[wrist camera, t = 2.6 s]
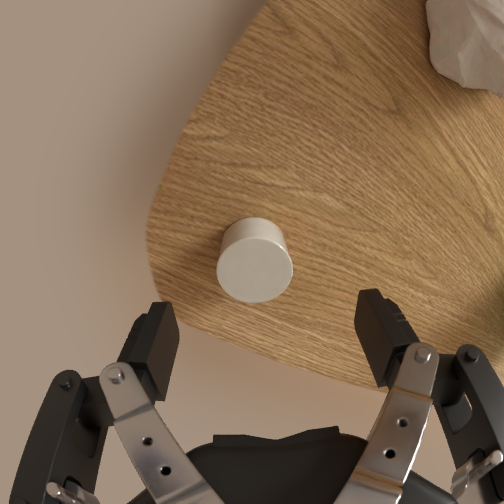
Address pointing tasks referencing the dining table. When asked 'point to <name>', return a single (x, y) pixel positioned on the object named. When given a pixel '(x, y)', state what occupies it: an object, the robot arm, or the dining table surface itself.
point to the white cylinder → (253, 261)
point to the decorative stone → (468, 42)
